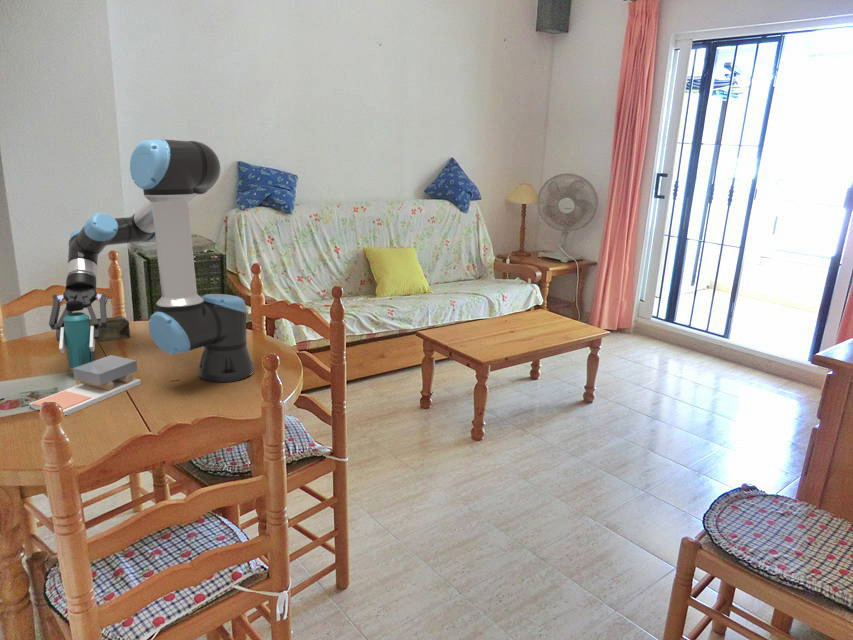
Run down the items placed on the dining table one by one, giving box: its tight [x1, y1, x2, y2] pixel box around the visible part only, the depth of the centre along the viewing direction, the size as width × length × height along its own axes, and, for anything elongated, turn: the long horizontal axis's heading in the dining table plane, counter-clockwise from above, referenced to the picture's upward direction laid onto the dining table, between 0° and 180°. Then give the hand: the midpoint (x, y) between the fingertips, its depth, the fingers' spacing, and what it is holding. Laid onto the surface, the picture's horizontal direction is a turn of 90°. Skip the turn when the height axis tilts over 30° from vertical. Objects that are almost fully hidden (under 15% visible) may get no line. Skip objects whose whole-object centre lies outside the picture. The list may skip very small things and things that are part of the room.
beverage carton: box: [65, 315, 131, 346], centre depth 200 cm, size 8×19×7 cm, turn 127°
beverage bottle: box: [63, 301, 96, 370], centre depth 168 cm, size 6×7×20 cm
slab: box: [72, 354, 138, 385], centre depth 162 cm, size 9×12×3 cm
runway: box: [28, 373, 142, 417], centre depth 158 cm, size 11×24×4 cm, turn 159°
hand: (77, 349), depth 166 cm, fingers closed on beverage bottle, 6 cm apart
